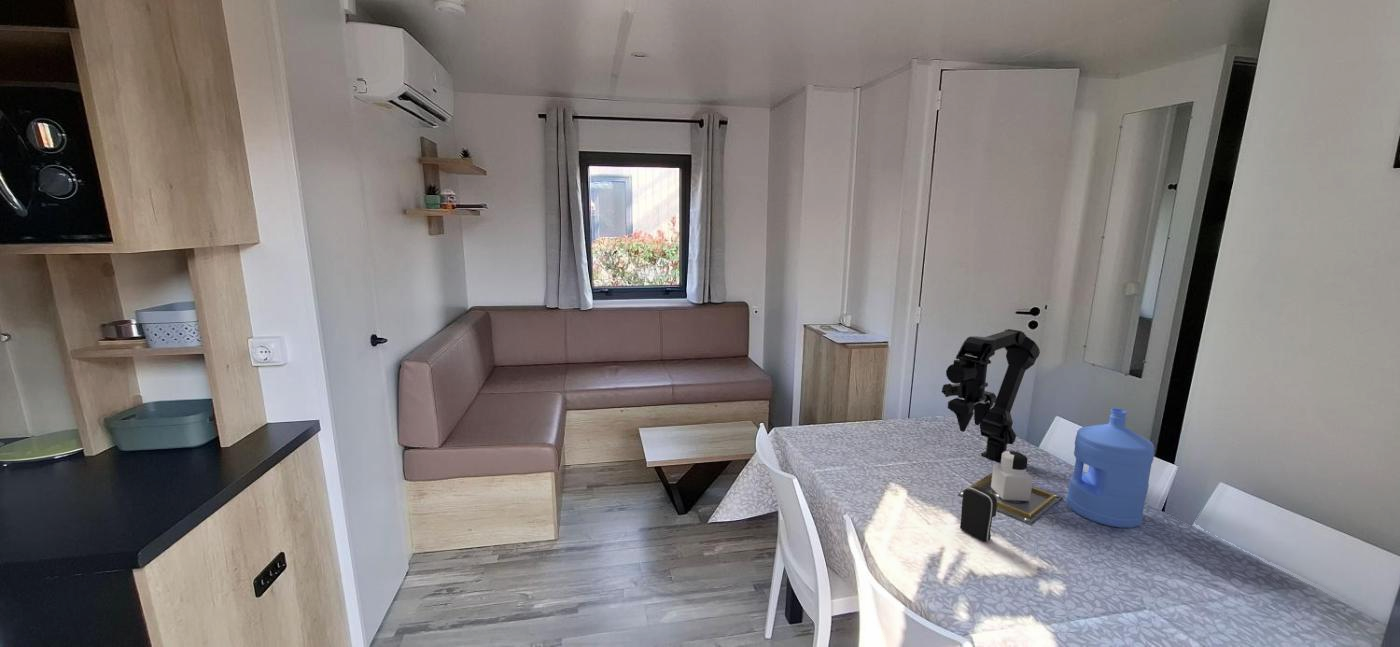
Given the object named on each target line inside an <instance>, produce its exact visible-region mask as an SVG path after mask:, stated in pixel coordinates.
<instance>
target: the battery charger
mask: <svg viewBox="0 0 1400 647" xmlns="http://www.w3.org/2000/svg"><path fill="white" fill-rule="evenodd" d="M963 490H964V493H963V497H962V502H961V517H960V526H959V528H960V530H961V531H964V532H965V533H967V534H969V535H970V536H972V537H974V538H976V539H978V540H979V541H981V542H984V543H987V542H989V541H990V540H991V536H992V535H991V528H992V523H993V518H994V517H996V516H997V511H996V510H997V499H996V497H995V496H994V495H993V494H991V493H989V492H987V491H985V490H983V489H981V488H978V487H976V486H973V487H970V486H968V487H966V488H965V489H963Z"/></svg>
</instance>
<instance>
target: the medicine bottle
mask: <svg viewBox="0 0 1400 647" xmlns="http://www.w3.org/2000/svg"><path fill="white" fill-rule="evenodd" d="M1027 466H1028V456H1026V455H1025V454H1023V453H1021V452H1018V451H1015V450H1006V451H1005V452H1003V453H1002V457H1001V462H1000V464H993V466H992V482H991V488H992V489H993V490H994V491H995V492H996V493H997V494H998V495H999V496H1000V497H1001V498H1002V499H1003V500H1014V501H1030V497H1031V489H1032V486H1033V480H1034V477H1033V476H1032V475H1031V474H1030V473H1028V471H1027Z"/></svg>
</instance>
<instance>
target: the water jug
mask: <svg viewBox="0 0 1400 647" xmlns="http://www.w3.org/2000/svg"><path fill="white" fill-rule="evenodd" d="M1127 414H1128V411H1127V410H1124V409H1120V408H1111V409H1110V415H1109V421H1108V423H1106V424H1105V423H1104V424H1095V425H1087V426H1081V427H1080V428H1078V429H1077V431H1076V435H1075V440H1074V450H1073V456H1074V457H1075V463H1074V469H1073V475H1072V476H1071V477H1070V478H1069V483H1068V485H1069V486H1068V490H1067V493H1066V494H1067V495H1066V503H1067V505H1068V507H1069V508H1070V509H1071V510H1072V511H1073V512H1075V513H1076V514H1078V515H1080V516H1081V517H1083V518H1085V519H1087V520H1090V521H1092V522H1095V523H1098V524H1101V525H1104V526H1107V527H1108V526H1109V527H1113V528H1114V527H1115V528H1119V529H1120V528H1121V529H1122V528H1125V529H1127V528H1129V529H1130V528H1131V529H1132V528H1135V527H1139V526H1140V525H1141V524H1142V523H1143V519H1144V509H1145V503H1146V499H1147V498H1146V497H1147V494H1148V491H1149V482H1150V475H1151V470H1152V464H1153V461H1154V457H1155V445H1154V444H1153V442H1152V441H1151V440H1149V439H1148V438H1146V437H1144V436H1142V435H1140V434H1139V433H1136V432H1135V431H1133V430H1131V429H1129V428H1128V427H1126V421H1127V417H1126V416H1127ZM1084 465H1087V466H1088V469H1087V471H1086V472H1084ZM1083 472H1084V473H1083Z"/></svg>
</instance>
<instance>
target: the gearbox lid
mask: <svg viewBox="0 0 1400 647" xmlns="http://www.w3.org/2000/svg"><path fill="white" fill-rule="evenodd" d="M992 473H993V472H992ZM992 473H990V474H988V475H986V476H985V477H983V478H981V479H979V480H978V481H976V482H975V483H973V484H971V485H970V486H969V487H973V486H976V487H978V488H981V489H983V490H985V491H987V492H989V493H991V494H993V495H994V496H995V497H996V499H997V510H996V512H998V513H1000V514H1003V515H1005V516H1008V517H1010V518H1012V519H1015V520H1018V521H1020V522H1022V523H1024V524H1028V525H1031V524H1033V523H1034V522H1035V521H1037V519H1039V518H1040V517H1041V516H1042V515H1043V514H1045V513H1047V511H1048V510H1050V508H1052V507H1053V506H1055V505H1056V504H1057V503H1058V502H1060V500H1062V499H1063V496H1061V495H1060V494H1057V493H1053V492H1051V491H1048V490H1045V489H1042V488H1039V487H1038V486H1034V485H1032V489H1031V497H1030V501H1014V500H1003V499H1002V498H1001V497H1000V496H999V495H998V494H997V493H996V492H995V491H994V490H993V489H992V488H991V482H992ZM964 490H965V489H963V490H961V491H960V492H958V493H957V496H959V497H961V498H963V493H964Z"/></svg>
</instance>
